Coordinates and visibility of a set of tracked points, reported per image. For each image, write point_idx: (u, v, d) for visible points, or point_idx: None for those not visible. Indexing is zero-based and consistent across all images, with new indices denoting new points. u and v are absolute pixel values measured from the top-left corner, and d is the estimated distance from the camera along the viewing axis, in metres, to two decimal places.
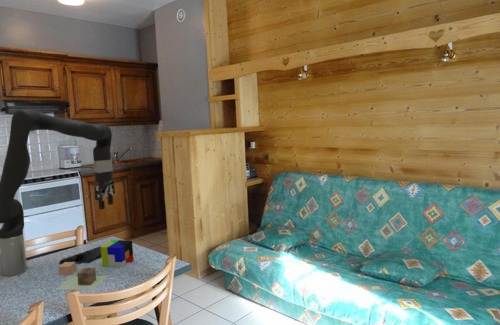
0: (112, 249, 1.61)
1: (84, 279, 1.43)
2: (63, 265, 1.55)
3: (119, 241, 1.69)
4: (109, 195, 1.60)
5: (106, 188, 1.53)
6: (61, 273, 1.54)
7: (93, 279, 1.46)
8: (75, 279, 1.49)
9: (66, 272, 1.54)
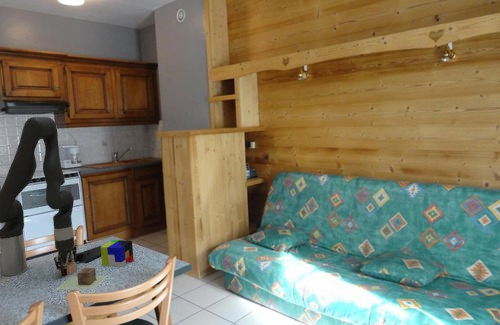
0: (112, 249, 1.61)
1: (84, 279, 1.43)
2: (63, 265, 1.55)
3: (119, 241, 1.69)
4: None
5: (67, 256, 1.53)
6: None
7: (93, 279, 1.46)
8: (75, 279, 1.49)
9: None
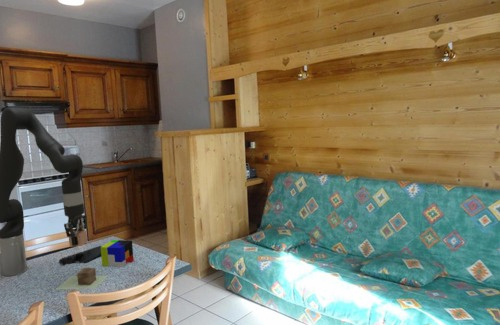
0: (112, 249, 1.61)
1: (84, 279, 1.43)
2: None
3: (119, 241, 1.69)
4: None
5: (77, 223, 1.45)
6: (71, 241, 1.46)
7: (93, 279, 1.46)
8: (75, 279, 1.49)
9: None
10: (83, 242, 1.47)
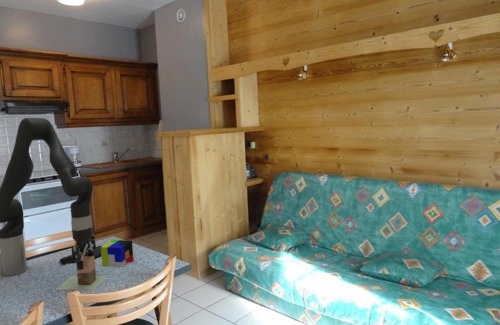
0: (112, 249, 1.61)
1: (84, 279, 1.43)
2: None
3: (119, 241, 1.69)
4: (89, 251, 1.49)
5: (85, 246, 1.42)
6: None
7: (93, 279, 1.46)
8: (75, 279, 1.49)
9: (84, 267, 1.43)
10: (91, 269, 1.44)
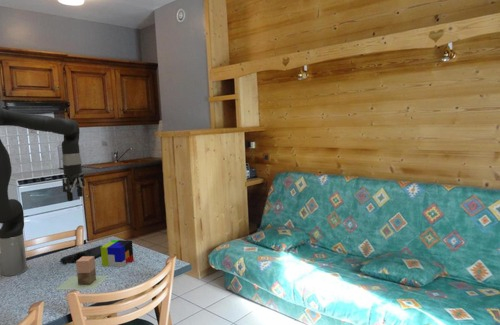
0: (112, 249, 1.61)
1: (84, 279, 1.43)
2: (81, 259, 1.44)
3: (119, 241, 1.69)
4: (79, 187, 1.66)
5: (74, 180, 1.59)
6: (79, 268, 1.43)
7: (93, 279, 1.46)
8: (75, 279, 1.49)
9: (84, 267, 1.43)
10: (91, 269, 1.44)
